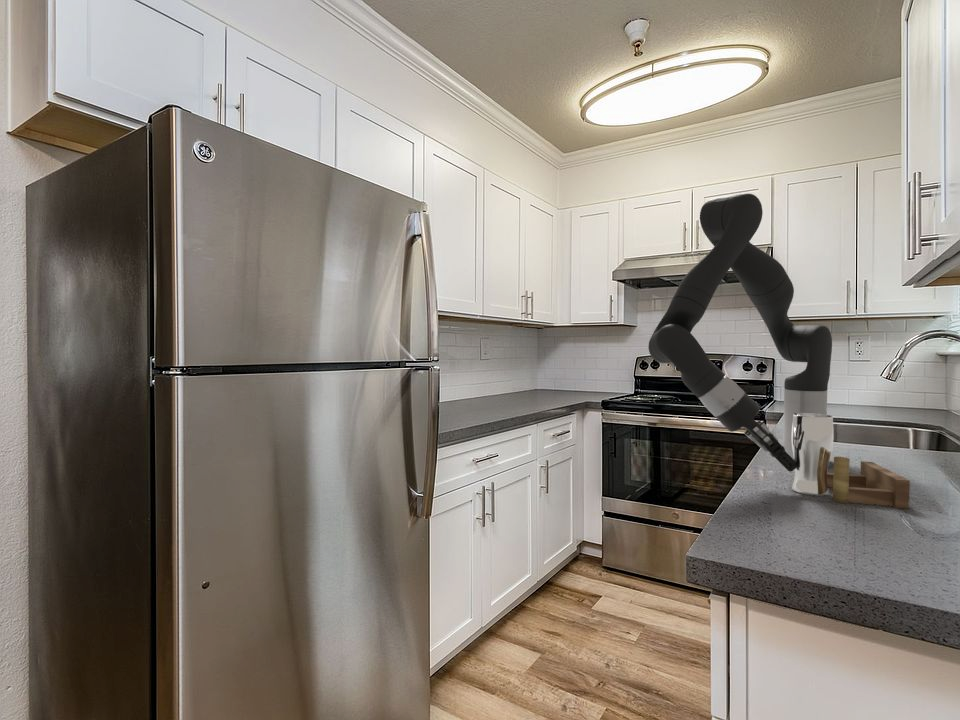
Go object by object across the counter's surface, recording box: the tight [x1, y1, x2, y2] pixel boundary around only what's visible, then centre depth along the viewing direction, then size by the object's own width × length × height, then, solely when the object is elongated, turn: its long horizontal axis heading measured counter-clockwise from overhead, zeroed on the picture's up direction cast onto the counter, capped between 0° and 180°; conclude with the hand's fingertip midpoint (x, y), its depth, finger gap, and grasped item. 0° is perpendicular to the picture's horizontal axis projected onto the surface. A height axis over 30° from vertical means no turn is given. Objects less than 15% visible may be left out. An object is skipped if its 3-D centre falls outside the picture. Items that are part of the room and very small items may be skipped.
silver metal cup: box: [791, 413, 834, 497], centre depth 106 cm, size 7×7×15 cm
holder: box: [827, 456, 911, 510], centre depth 104 cm, size 15×11×8 cm
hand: (793, 468), depth 107 cm, fingers closed
